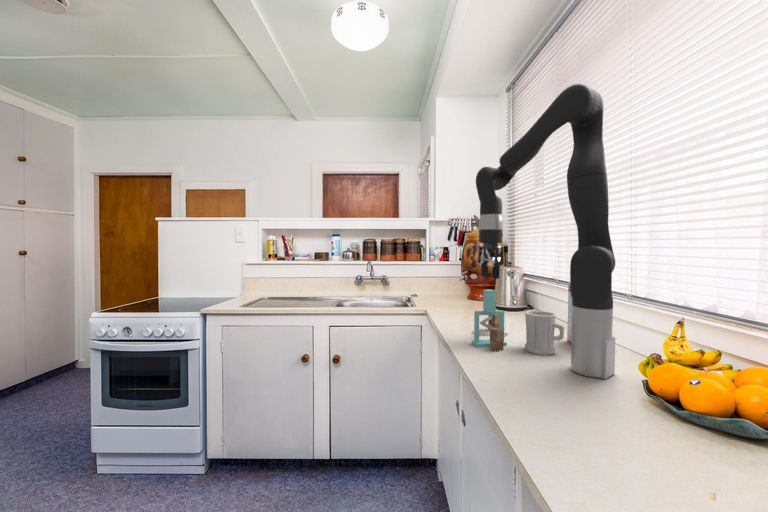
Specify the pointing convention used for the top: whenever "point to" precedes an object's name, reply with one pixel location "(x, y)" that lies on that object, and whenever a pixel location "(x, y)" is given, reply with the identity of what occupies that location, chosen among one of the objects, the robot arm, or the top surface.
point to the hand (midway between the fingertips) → (489, 277)
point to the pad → (488, 332)
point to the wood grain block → (495, 334)
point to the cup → (541, 332)
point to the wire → (486, 321)
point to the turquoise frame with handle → (489, 309)
